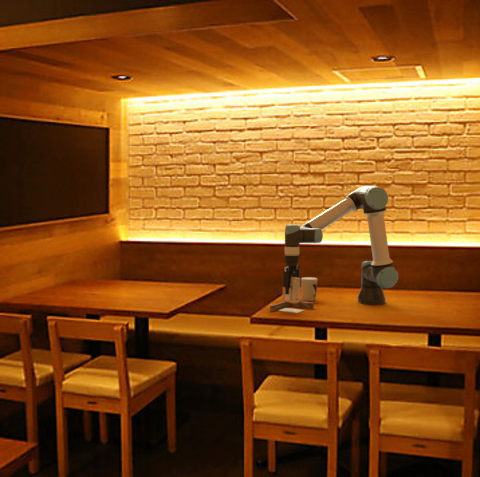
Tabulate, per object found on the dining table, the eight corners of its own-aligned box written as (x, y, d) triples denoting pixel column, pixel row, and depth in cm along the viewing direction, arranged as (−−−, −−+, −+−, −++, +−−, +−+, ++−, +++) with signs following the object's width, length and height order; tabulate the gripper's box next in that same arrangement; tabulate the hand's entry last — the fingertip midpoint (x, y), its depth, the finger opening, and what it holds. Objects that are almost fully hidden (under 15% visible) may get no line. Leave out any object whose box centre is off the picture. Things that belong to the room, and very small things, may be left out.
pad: (304, 310, 352) (304, 310, 352) (296, 313, 345) (296, 312, 345) (285, 308, 358) (285, 307, 358) (277, 310, 351) (277, 310, 351)
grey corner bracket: (313, 308, 358) (313, 302, 358) (294, 314, 341) (294, 308, 341) (289, 305, 366) (289, 299, 366) (270, 311, 349) (270, 305, 349)
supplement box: (281, 301, 353) (282, 276, 352) (288, 300, 356) (289, 275, 355) (293, 303, 346) (293, 278, 345) (299, 302, 349) (300, 277, 348)
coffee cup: (316, 301, 378) (316, 279, 377) (299, 300, 380) (300, 279, 379) (318, 298, 388) (318, 277, 386) (301, 297, 389) (301, 276, 388)
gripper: (294, 252, 359) (293, 296, 361) (276, 255, 343) (275, 301, 345) (307, 253, 355) (306, 297, 357) (289, 257, 339) (288, 303, 341)
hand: (290, 299), depth 351 cm, fingers closed on supplement box, 6 cm apart
